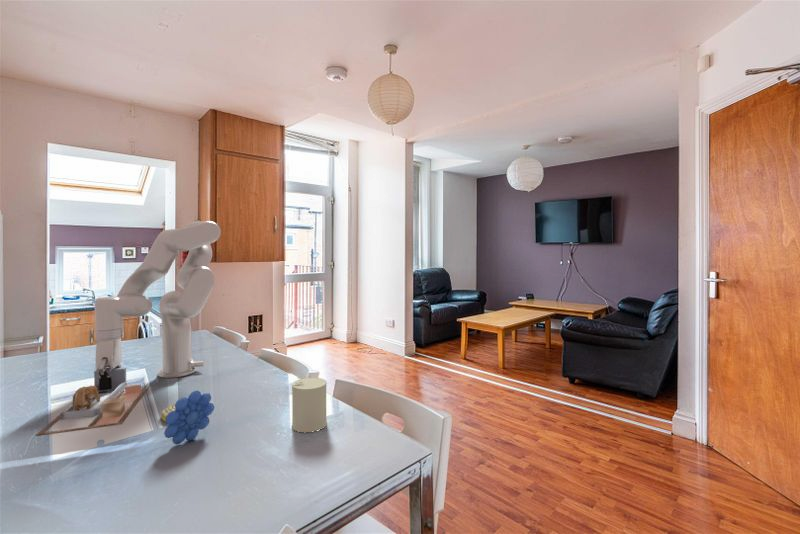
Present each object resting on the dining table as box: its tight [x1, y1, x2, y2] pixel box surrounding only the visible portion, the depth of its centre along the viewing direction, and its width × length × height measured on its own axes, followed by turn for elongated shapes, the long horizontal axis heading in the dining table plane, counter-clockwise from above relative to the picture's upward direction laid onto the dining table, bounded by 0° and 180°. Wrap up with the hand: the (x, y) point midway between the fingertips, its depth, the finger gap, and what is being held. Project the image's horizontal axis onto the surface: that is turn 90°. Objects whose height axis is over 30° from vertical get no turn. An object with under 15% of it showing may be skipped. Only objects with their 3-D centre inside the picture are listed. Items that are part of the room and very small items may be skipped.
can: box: [291, 377, 328, 434], centre depth 101 cm, size 9×9×12 cm
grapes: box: [163, 390, 215, 445], centre depth 93 cm, size 12×7×12 cm, turn 143°
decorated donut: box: [160, 403, 176, 423], centre depth 105 cm, size 10×11×4 cm
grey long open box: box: [59, 367, 127, 420], centre depth 115 cm, size 8×26×7 cm, turn 22°
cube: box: [102, 396, 126, 418], centre depth 105 cm, size 4×4×4 cm
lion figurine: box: [72, 385, 101, 411], centre depth 109 cm, size 15×5×9 cm, turn 33°
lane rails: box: [35, 387, 149, 436], centre depth 109 cm, size 18×28×1 cm, turn 22°
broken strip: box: [95, 383, 143, 426], centre depth 111 cm, size 5×26×3 cm, turn 21°
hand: (110, 384), depth 126 cm, fingers open, 9 cm apart
